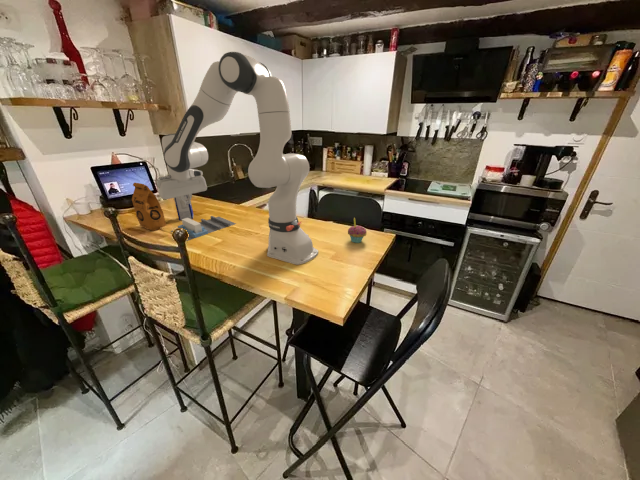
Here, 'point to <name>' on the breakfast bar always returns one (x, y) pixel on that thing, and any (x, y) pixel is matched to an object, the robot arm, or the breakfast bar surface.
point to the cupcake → (356, 233)
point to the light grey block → (192, 225)
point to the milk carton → (183, 208)
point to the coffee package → (147, 208)
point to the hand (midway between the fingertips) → (187, 204)
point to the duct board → (209, 226)
